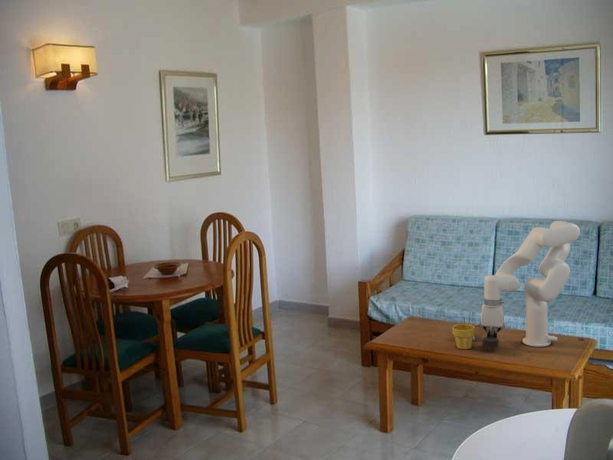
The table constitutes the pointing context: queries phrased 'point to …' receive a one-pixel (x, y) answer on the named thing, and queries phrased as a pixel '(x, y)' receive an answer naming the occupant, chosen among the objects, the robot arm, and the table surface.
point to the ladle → (491, 340)
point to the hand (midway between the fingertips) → (491, 340)
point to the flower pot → (463, 335)
